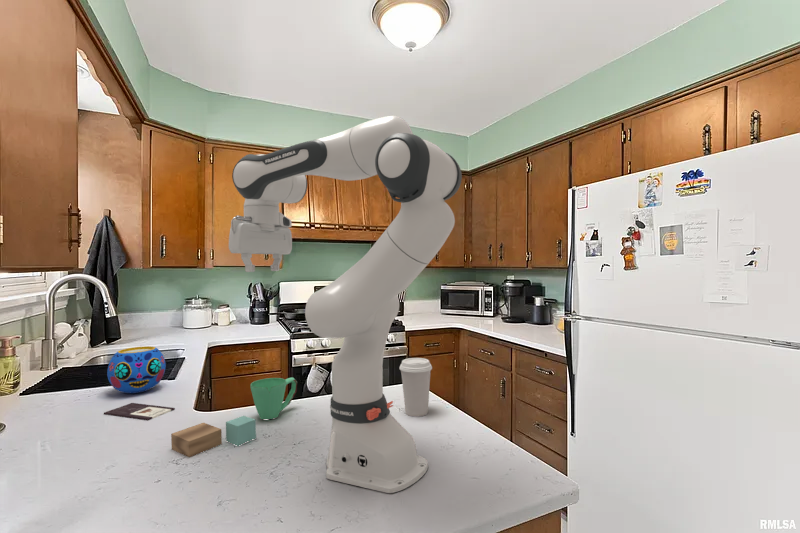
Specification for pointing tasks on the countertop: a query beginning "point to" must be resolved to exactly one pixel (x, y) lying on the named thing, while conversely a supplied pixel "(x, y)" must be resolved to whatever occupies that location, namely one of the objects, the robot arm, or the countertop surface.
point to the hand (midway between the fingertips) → (263, 271)
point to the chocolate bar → (139, 411)
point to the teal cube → (240, 430)
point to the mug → (272, 396)
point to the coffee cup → (416, 385)
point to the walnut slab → (196, 439)
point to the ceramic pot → (136, 369)
